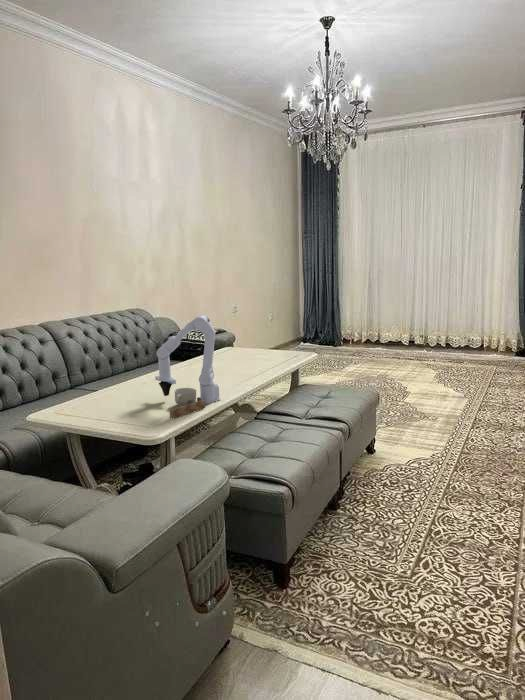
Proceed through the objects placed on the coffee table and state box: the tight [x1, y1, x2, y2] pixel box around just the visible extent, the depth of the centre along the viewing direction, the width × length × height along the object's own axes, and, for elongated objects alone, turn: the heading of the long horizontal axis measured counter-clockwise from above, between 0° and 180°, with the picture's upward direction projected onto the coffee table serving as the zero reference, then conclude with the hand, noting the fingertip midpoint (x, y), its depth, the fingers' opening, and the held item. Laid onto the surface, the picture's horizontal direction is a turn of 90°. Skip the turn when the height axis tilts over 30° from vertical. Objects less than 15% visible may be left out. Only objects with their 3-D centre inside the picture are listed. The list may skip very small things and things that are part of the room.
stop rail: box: [169, 396, 206, 420], centre depth 258 cm, size 20×4×5 cm, turn 137°
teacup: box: [174, 387, 197, 407], centre depth 268 cm, size 14×11×8 cm
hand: (166, 395), depth 277 cm, fingers closed
